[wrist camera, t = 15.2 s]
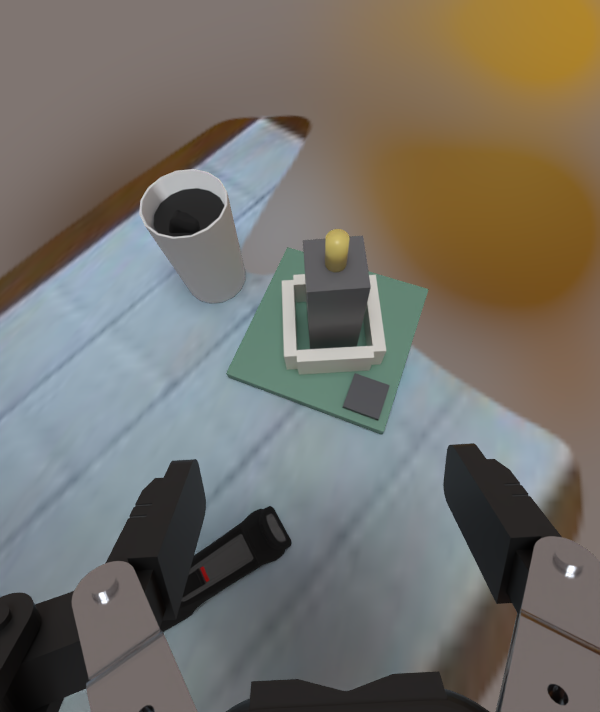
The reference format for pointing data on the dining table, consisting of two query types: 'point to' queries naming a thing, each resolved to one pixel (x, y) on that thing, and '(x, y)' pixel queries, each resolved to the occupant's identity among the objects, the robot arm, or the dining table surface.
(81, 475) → the dining table surface
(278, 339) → the circuit board
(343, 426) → the dining table surface
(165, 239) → the grey cup
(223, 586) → the electric trimmer
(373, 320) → the socket
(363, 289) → the plug
